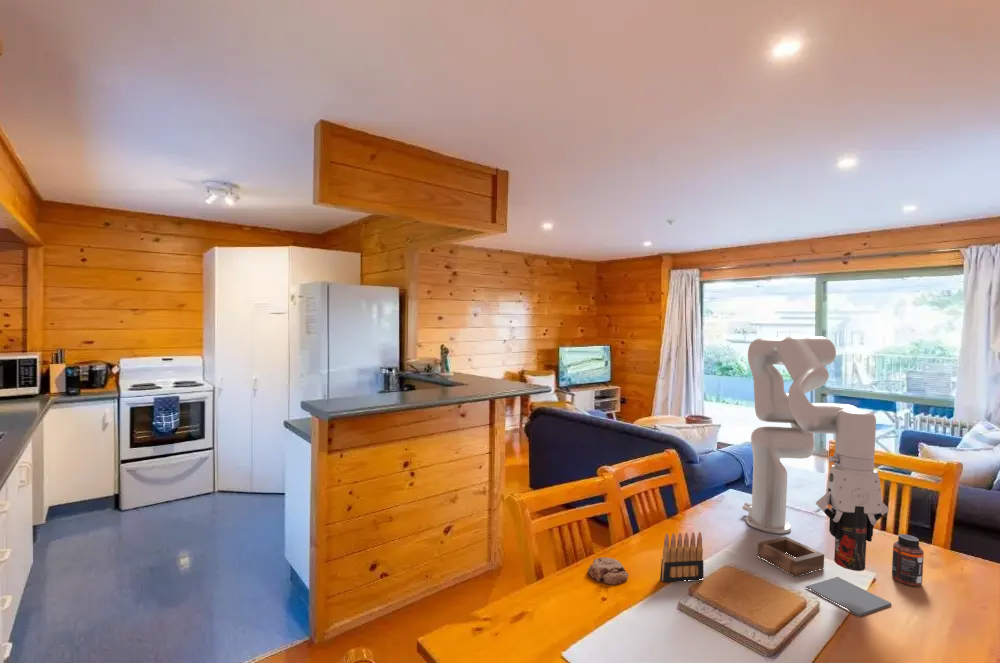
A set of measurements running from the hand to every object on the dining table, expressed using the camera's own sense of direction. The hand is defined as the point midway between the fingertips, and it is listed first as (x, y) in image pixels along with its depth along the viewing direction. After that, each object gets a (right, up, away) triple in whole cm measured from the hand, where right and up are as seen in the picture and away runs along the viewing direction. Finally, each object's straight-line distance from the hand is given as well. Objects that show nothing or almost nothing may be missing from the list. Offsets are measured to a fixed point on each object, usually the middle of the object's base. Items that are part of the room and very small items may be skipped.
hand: (850, 537), depth 114 cm
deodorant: (0, -7, 0) cm, 7 cm away
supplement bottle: (+20, -15, +8) cm, 26 cm away
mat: (0, -14, +1) cm, 14 cm away
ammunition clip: (-38, -14, +6) cm, 41 cm away
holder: (-5, -14, +16) cm, 22 cm away
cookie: (-56, -13, +8) cm, 58 cm away
